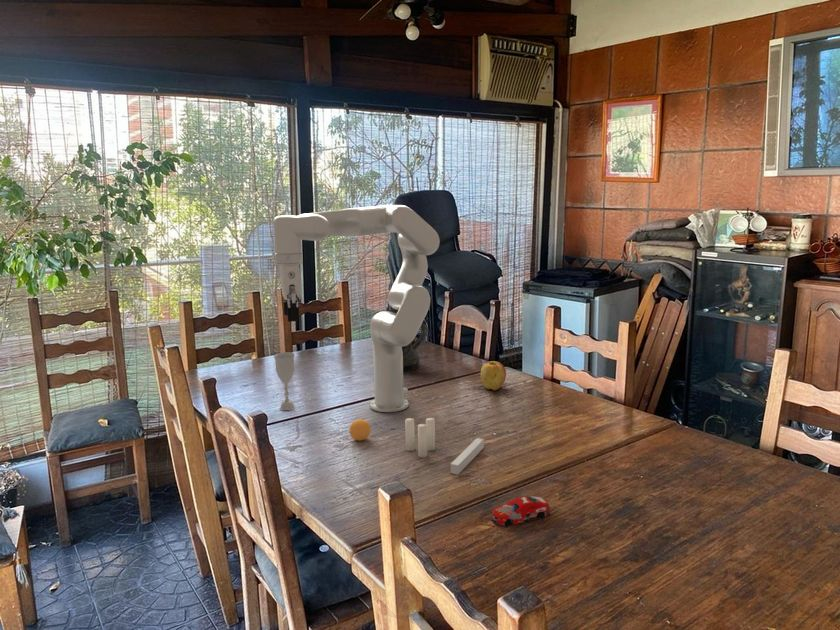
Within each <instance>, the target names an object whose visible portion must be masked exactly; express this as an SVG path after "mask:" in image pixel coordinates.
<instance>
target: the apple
mask: <svg viewBox="0 0 840 630" xmlns="http://www.w3.org/2000/svg"><path fill="white" fill-rule="evenodd" d="M506 377H507V371H506V368H505V365H504V364H502V363H501V362H499V361H495V360H493V361H492V360H491V361H487V362H486V363H484V364H483V365H482V366H481V369H480V380H481V382H482V385H483V387H485V389H487V390H490V389H492V390H491V391H497V390H499V389H500V388H501V387H502V386H503V385H504V383H505V381H506Z"/></svg>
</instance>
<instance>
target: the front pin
mask: <svg viewBox="0 0 840 630" xmlns="http://www.w3.org/2000/svg"><path fill="white" fill-rule="evenodd" d="M404 419H405V418H404ZM404 422H405V424H404V425H405V450H406V451H408V452H412V451H414V450H415V419H414V418H411V417H408V418H406V419H405V420H404Z"/></svg>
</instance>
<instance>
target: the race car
mask: <svg viewBox="0 0 840 630" xmlns="http://www.w3.org/2000/svg"><path fill="white" fill-rule="evenodd" d="M550 511H551V509H550V505H549V502H547V500H546V499H544V498H543V497H541V496H540V497H539V496H532V495H530V496H521V497H516V498H514V499H511V500H507V503H505V504H503V505H500V506H498V507H495V508H494V509H492V512H491V520H492V522H494V523H495V524H497V525H499V526H502V527H511V526H513V525H517V524H518V525H519V524H521V523H522V524H523V523H526V522H530V521H533V520H534V521H535V520H539V519H544V517H547V516H549V514H550Z"/></svg>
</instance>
